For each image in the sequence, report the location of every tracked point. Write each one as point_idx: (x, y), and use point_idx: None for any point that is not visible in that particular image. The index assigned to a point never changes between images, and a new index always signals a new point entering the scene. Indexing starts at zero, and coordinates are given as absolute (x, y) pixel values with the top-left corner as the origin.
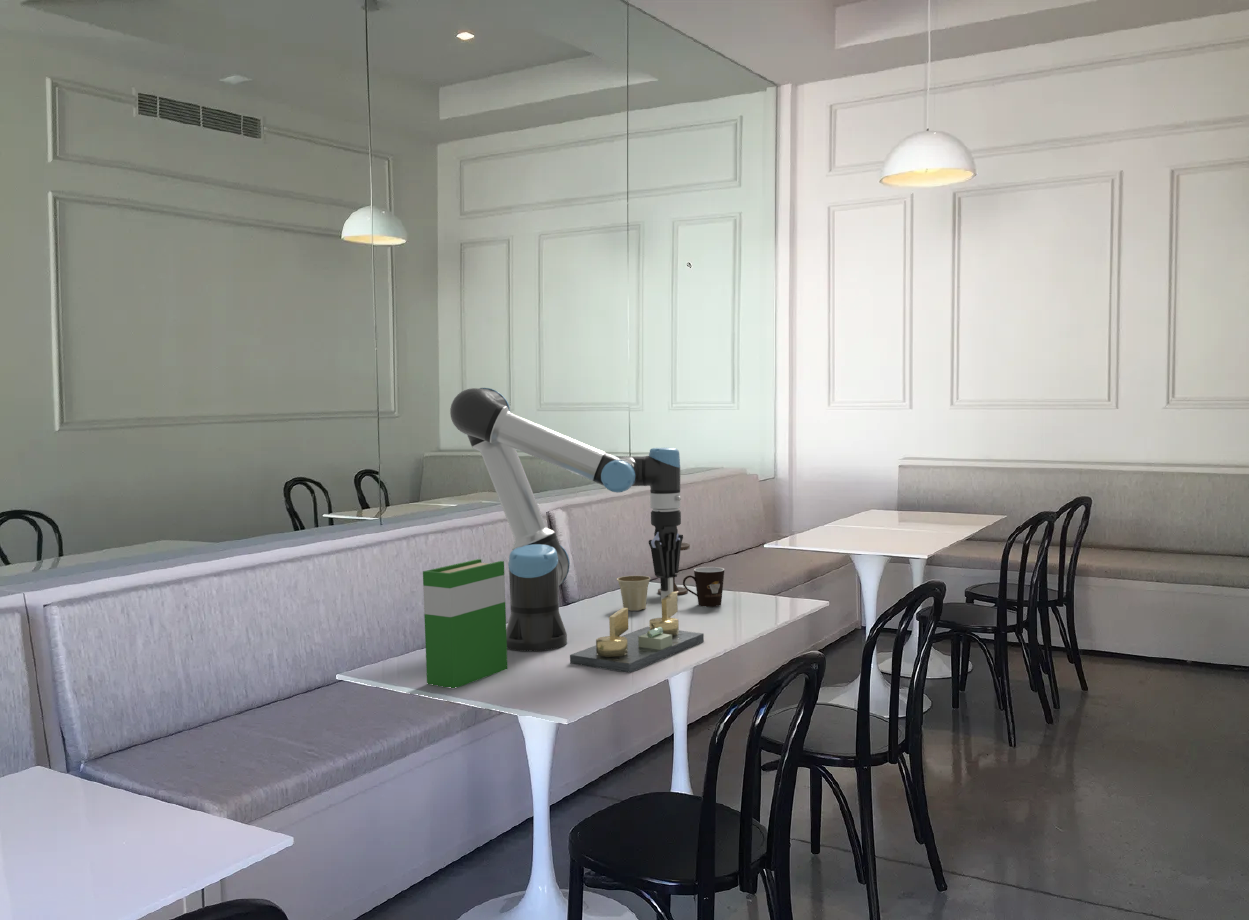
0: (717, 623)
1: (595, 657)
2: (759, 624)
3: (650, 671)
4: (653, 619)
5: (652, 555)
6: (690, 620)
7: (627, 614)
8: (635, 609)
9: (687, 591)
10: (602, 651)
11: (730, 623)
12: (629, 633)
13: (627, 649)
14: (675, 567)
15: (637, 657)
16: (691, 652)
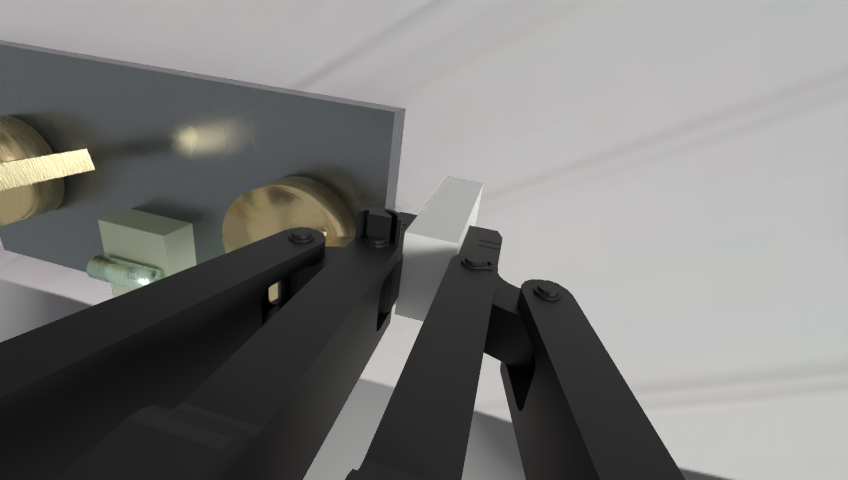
0: (696, 321)
1: None
2: (699, 459)
3: (70, 281)
4: (273, 201)
5: (43, 335)
6: (756, 191)
7: (21, 185)
8: None
9: None
10: None
11: (704, 367)
12: (254, 91)
13: (40, 214)
14: (507, 385)
15: (51, 248)
16: None
